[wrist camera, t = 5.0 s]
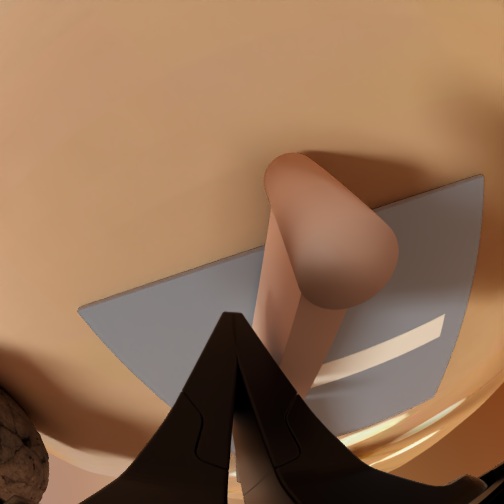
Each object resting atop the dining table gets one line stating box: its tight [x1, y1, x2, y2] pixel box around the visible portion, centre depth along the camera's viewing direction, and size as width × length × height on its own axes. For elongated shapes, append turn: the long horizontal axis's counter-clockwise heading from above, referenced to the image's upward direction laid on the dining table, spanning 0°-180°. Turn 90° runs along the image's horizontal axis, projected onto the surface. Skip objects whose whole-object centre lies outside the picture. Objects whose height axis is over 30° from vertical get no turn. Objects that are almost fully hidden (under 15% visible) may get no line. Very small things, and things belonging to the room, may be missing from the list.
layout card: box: [77, 174, 484, 454], centre depth 17 cm, size 24×22×1 cm
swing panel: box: [252, 153, 399, 400], centre depth 10 cm, size 13×2×5 cm, turn 173°
